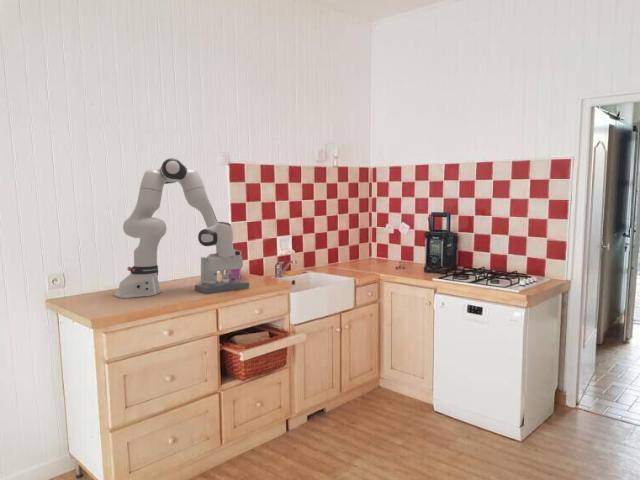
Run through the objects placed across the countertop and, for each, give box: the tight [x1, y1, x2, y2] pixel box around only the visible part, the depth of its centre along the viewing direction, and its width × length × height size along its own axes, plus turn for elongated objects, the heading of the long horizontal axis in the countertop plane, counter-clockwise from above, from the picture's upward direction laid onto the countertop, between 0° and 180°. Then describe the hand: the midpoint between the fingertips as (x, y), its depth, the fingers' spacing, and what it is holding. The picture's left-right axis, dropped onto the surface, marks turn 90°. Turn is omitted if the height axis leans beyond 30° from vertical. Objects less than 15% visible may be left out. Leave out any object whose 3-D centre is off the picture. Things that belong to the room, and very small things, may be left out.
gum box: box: [225, 268, 242, 281], centre depth 299 cm, size 24×8×14 cm, turn 6°
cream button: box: [220, 277, 229, 283], centre depth 262 cm, size 4×4×2 cm
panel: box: [194, 279, 250, 295], centre depth 264 cm, size 26×12×3 cm, turn 131°
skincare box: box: [200, 256, 218, 284], centre depth 285 cm, size 8×6×15 cm
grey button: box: [207, 280, 216, 285], centre depth 256 cm, size 4×4×2 cm
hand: (225, 278), depth 262 cm, fingers closed
